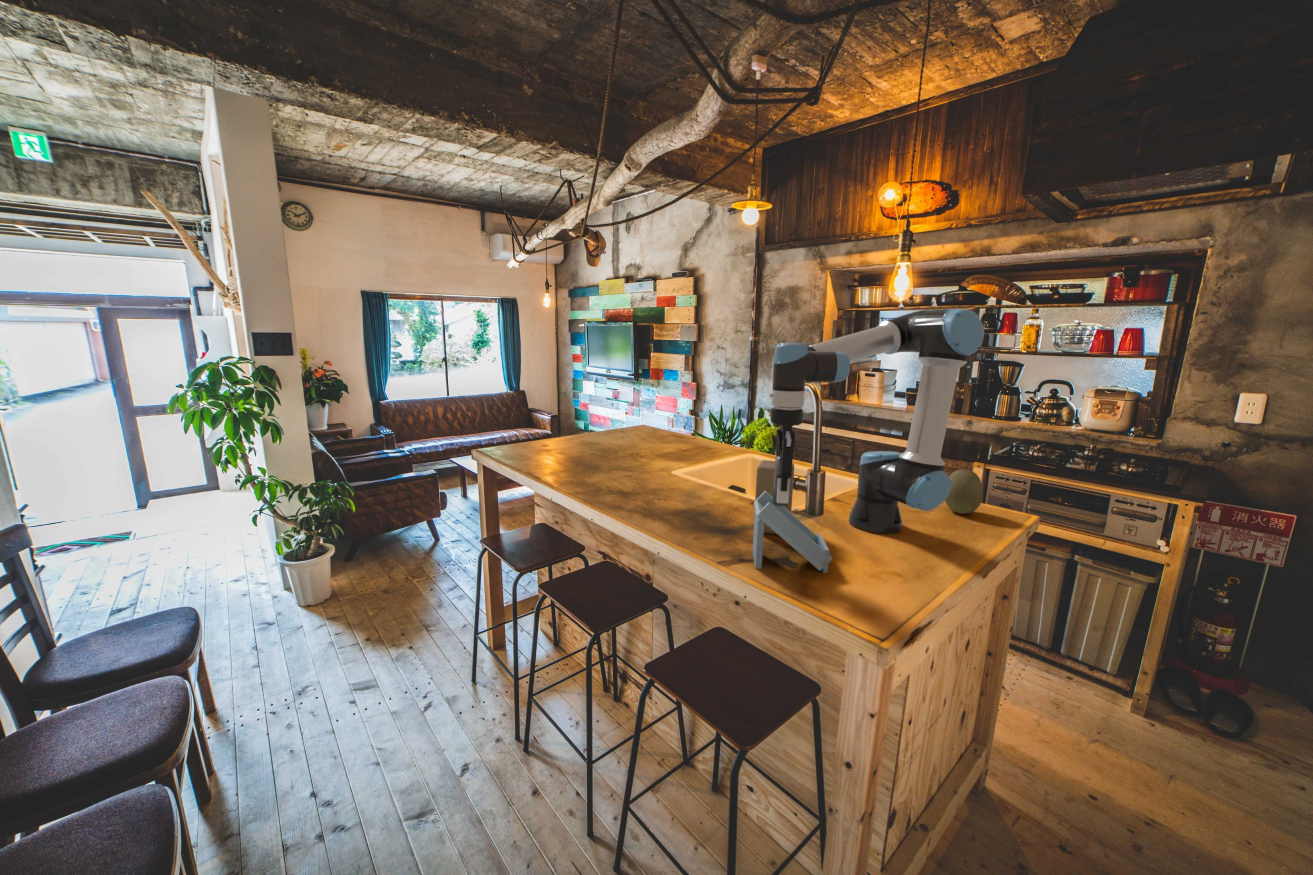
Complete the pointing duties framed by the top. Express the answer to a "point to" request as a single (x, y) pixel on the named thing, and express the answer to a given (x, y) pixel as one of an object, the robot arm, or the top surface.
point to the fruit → (964, 491)
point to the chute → (787, 533)
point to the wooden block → (770, 485)
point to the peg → (777, 468)
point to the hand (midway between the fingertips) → (781, 499)
